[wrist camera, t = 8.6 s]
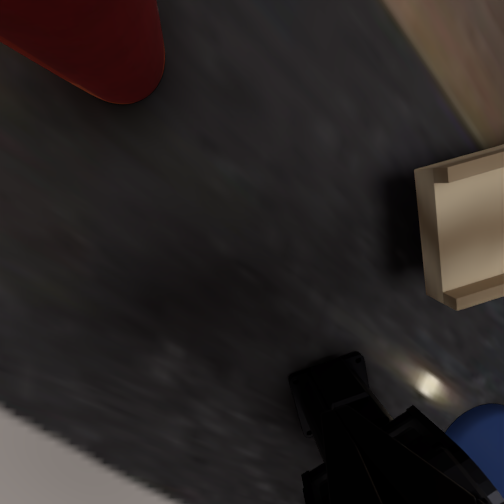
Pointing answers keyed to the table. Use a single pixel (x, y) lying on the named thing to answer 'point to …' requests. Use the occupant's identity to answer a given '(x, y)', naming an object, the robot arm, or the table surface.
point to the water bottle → (483, 440)
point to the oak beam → (463, 227)
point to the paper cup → (90, 43)
